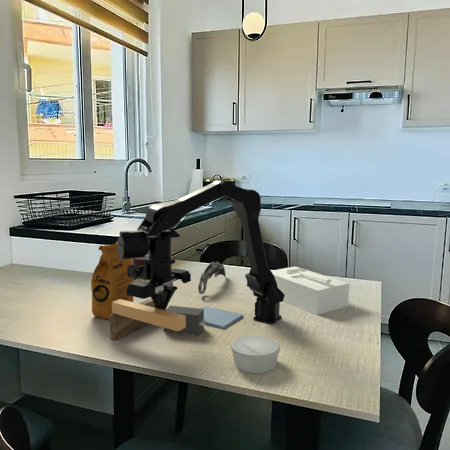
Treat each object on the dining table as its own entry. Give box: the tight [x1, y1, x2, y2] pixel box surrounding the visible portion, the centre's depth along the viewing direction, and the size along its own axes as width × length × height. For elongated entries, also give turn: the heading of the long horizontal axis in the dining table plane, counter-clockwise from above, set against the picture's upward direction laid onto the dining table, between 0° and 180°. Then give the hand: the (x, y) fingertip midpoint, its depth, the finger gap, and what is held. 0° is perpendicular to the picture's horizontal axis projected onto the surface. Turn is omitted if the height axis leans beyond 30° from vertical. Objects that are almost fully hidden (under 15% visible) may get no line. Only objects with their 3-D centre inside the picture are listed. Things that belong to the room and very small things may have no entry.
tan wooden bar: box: [112, 299, 186, 331], centre depth 109 cm, size 22×3×3 cm, turn 58°
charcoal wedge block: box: [163, 305, 207, 336], centre depth 119 cm, size 11×5×6 cm, turn 75°
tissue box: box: [271, 266, 350, 316], centre depth 145 cm, size 14×25×11 cm, turn 34°
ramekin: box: [230, 334, 281, 374], centre depth 100 cm, size 11×11×5 cm
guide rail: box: [109, 297, 155, 341], centre depth 120 cm, size 2×18×6 cm, turn 148°
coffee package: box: [90, 240, 134, 321], centre depth 130 cm, size 10×12×22 cm
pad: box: [198, 305, 244, 330], centre depth 128 cm, size 14×11×1 cm
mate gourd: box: [132, 253, 149, 267], centre depth 176 cm, size 8×8×15 cm
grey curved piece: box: [197, 261, 226, 295], centre depth 159 cm, size 28×2×10 cm, turn 162°
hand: (160, 314), depth 110 cm, fingers closed
